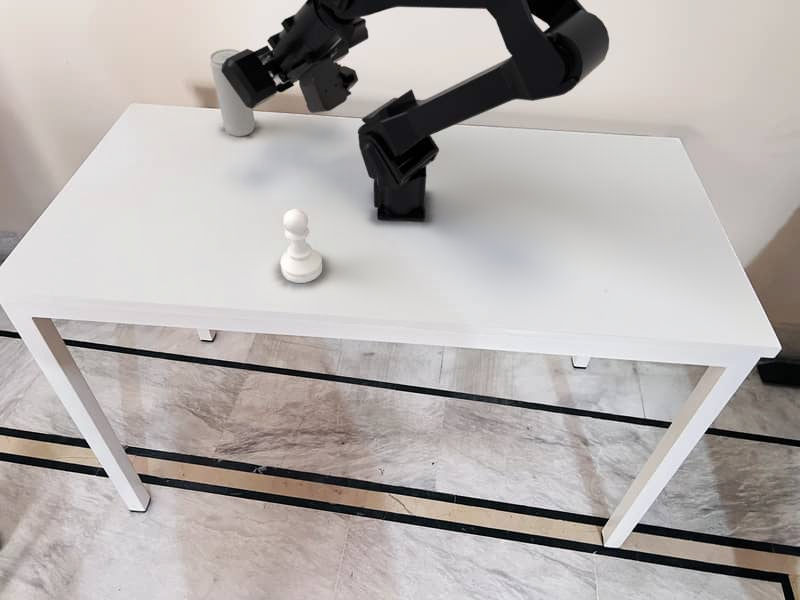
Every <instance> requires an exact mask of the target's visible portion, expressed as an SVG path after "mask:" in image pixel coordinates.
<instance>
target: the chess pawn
mask: <svg viewBox="0 0 800 600" xmlns="http://www.w3.org/2000/svg"><path fill="white" fill-rule="evenodd" d="M282 224H283V227H284V229H285V230H284V236H285V238H286V239H288V240H289V241H290V244H289V245H288V247H287V250H286V251H285V252H284V253H283V254H282V255H281V257H280V269H281V274H282V275H283V277H284V278H285V279H286V280H288V281H290V282H292V283H295V284H305V283H309V282H312V281H314V280H316V279H317V278H319V276H320V275H321V273H322V271H323V268H324V267H323V258H322V255H321V254H320V252H319V251H318V250H316V249H315V248H313V247H312V246H311V244H310V243H308V242H307V241H306V238H308V237H309V236H310V229H309V227H308V224H309V219H308V216H307V214H306V212H305V211H303V210H301V209H299V208H293V209H292V208H291V209H290V210H288V211H287V212H286V213H284V215H283V218H282Z"/></svg>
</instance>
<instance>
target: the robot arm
mask: <svg viewBox="0 0 800 600" xmlns="http://www.w3.org/2000/svg"><path fill="white" fill-rule="evenodd" d="M394 8H423V9H424V8H425V9H427V8H428V9H468V10H469V9H471V10H473V9H474V10H486V11H487V12H488V13H489V14H490V15H491V17H492V18H493V19H494V20H495V22H496V25H497V27H498V31H499V33H500V35H501V37H502V40H503V42H504V46H505V49H506V50H507V51H508V53H509V54H510V55H511V56H510V57H508V58H506V59H503V60H502V61H500V62H498V63H496V64H495V65H492V66H490V67H488V68H486V69H484V70H483V71H480V72H478V73H476V74H473V75H472V76H470V77H468V78H466V79H464V80H461V81H460V82H458V83H456V84H453V85H452V86H450V87H448V88H446V89H443V90H441V91H439V92H437V93H435V94H434V95H432V96H429V97H427V98H425V99H416V96H415V94H414V91H413V89H412V88H411V89H409V90H408V91H406V92H404V93H403V94H401V95H400V96H399V97H392V98H391V99H389V100H388V101H386V102H385V103H383V104H382V105H381V106H379V107H377V108H376V109H375V110H373V111H372V112H370V113H368V114H367V115H366V116H364V117H362V118H361V122H363V124H362V125H361V126H359V127H358V130H357V134H358V135H357V137H358V146H359V150H360V154H361V156H362V160H363V163H364V166H365V169H366V172H367V175H368V177H369V179H372V180H373V207H374V208H375V209H376V219H377V220H380V221H402V222H403V221H405V222H407V221H408V222H423V221H425V220H426V189H427V188H426V187H427V167H428V165H429V164H430V163H432V162H434V161H435V160H436V158H437V156H438V154H439V152H440V148H439V146H438V145H437V143H436V142H435V140H434V138H433V136H432V135H435V134H436V133H439V132H441V131H443V130H446V129H448V128H451V127H453V126H455V125H458V124H460V123H463V122H465V121H467V120H470V119H472V118H474V117H476V116H478V115H482V114H483V113H485V112H488V111H490V110H493V109H496V108H498V107H500V106H502V105H504V104H507V103H510V102H512V101H515V100H516V101H517V100H519V101H530V102H534V101H540V100H544V99H551V98H555V97H560V96H564V95H566V94H567V93H569V92H571V91H572V90H573V89H574V88H575V87H576V86H578V85H579V84H580V83H581V82H582V81H583V80H584V79H586V77H588V76H589V75H590V74H591V73H592V72H593V71H595V69H597V68H598V67H599V66H600V65H601V64H602V63H603V62H604V61H605V60H606V57H607V55H608V52H609V49H610V36H609V32H608V29H607V27H606V25H605V23H604V22H603V20H602V19H600V18H599V17H598V16H597V15H596V14H594V13H592V12H589V11H587V9H586V8H585V7H584V6H583V5H582V3H580V0H579V1H578V0H306V1H305V3H303V5H302V6H301V7H300V8H299V9H298V10H297V11H296V13H295V14H292V15H290V16H288V17H286V18H284V19H283V20H282V22H281V23H280V25H281V26H282V28H283V29H282V30H281V31H279V32H277V33H275V34H272V35H271V36H269V37H268V38H267V40H266V41H267V43H268V44H269V45H265V46H263V47H261V48H259V49H257V50H255V51H254V50H251V49H249V48H246V49H244V50H242V51H240V52H239V53H237V54H235V55H233V56H231V57H229V58H227V59H226V61H225V62H224V63H223V65H222V69H221V71H222V73H223V74H224V76H225V77H226V79H227V80H228V81H229V83H230V84H231V86H232V87H233V89H234V90H235V91H236V93H237V94H238V96H239V97H240V99H241V100H242V101H243V103H244V104H245V106H246V107H248V108H251V109H255V108H256V107H258V106H260V105H262V104H264V103H266V102H267V101H269V100H270V99H272V98H274V96H276V94H277V93H284V92H286V91H287V90H289V89H291V88H293V87H294V86H295V83H297V82H298V84H299V88H300V90H301V94H302V95H303V98H304V100H305V103H306V108H307V110H308V111H309V112H310V113H311V114H317V113H324V112H330V111H332V110H334V109H336V108H337V107H338V106H340V105H342V104H343V103H345V102H346V101H347V99H348V97H349V96H350V95H352V91H350V90H351V89H352V88H353V87H354V86H355V85H357V83H358V81H359V77H358V74H357V71H356V69H354V68H352V67H348V66H346V65H341V63H338V62H340V61H342V60H343V59H344V58H345V57H346V56H347V55H348V54H349V53H350V49H352V48H355V47H356V46H358V45H360V44H361V43H363V42H365V41H366V40H368V39H369V30H368V27H367V20H366V19H365V18H362V17H367V16H370V15H374V14H377V13H380V12H383V11H386V10H390V9H394ZM533 16H534V17H535V18H537V19H539V20H540V21H542V22H543V23H545V24H546V25H547V26H548V28H545V30H542V29H541V28H540V26H539V25H538V24H537V22H536V21H535V19H534V17H533Z"/></svg>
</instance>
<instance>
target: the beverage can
mask: <svg viewBox="0 0 800 600" xmlns="http://www.w3.org/2000/svg"><path fill="white" fill-rule="evenodd" d="M239 52H241V51H240V50H237V49H234V48H225V49H220V50H216V51H214V52H213V53H211V55H210V56H209V57H210V67H211V72H212V77H213V81H214V85H215V91H216V95H217V99H218V104H219V109H220V112H221V117H222V118H221V119H222V123H223V126H224V130H225V132H226V133H228V134H229V135H231V136H234V137H243V136H248V135H250V134H251V133H253V132H254V130H255V128H256V121H255V115H254V110H253V109H254V108H253V109H251V108H248V107H246V106H245V104H244V103H243V101H242V100H241V99H240V97H239V96H238V94H237V93H236V91H235V90H234V89H233V87H232V86H231V84H230V83H229V81H228V80H227V79H226V77H225V76H224V74H223V73H222V71H221V69H222V65H223V63H224V62H225V61H226V59H227V58H229V57H231V56H233V55H235V54H237V53H239Z"/></svg>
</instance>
